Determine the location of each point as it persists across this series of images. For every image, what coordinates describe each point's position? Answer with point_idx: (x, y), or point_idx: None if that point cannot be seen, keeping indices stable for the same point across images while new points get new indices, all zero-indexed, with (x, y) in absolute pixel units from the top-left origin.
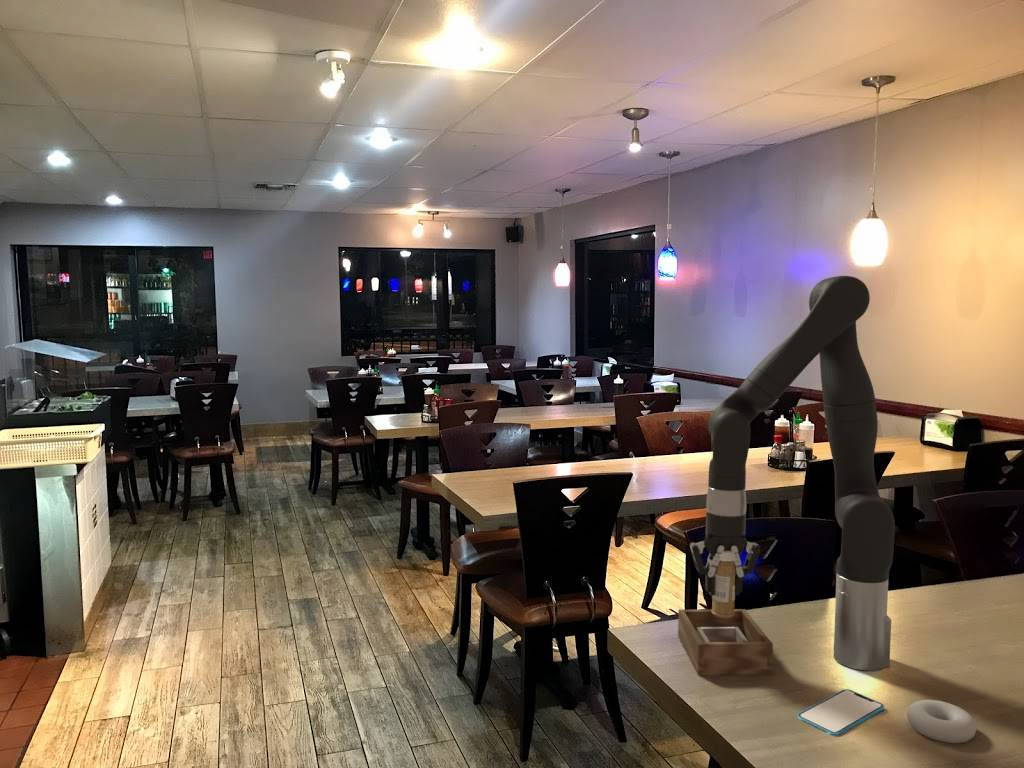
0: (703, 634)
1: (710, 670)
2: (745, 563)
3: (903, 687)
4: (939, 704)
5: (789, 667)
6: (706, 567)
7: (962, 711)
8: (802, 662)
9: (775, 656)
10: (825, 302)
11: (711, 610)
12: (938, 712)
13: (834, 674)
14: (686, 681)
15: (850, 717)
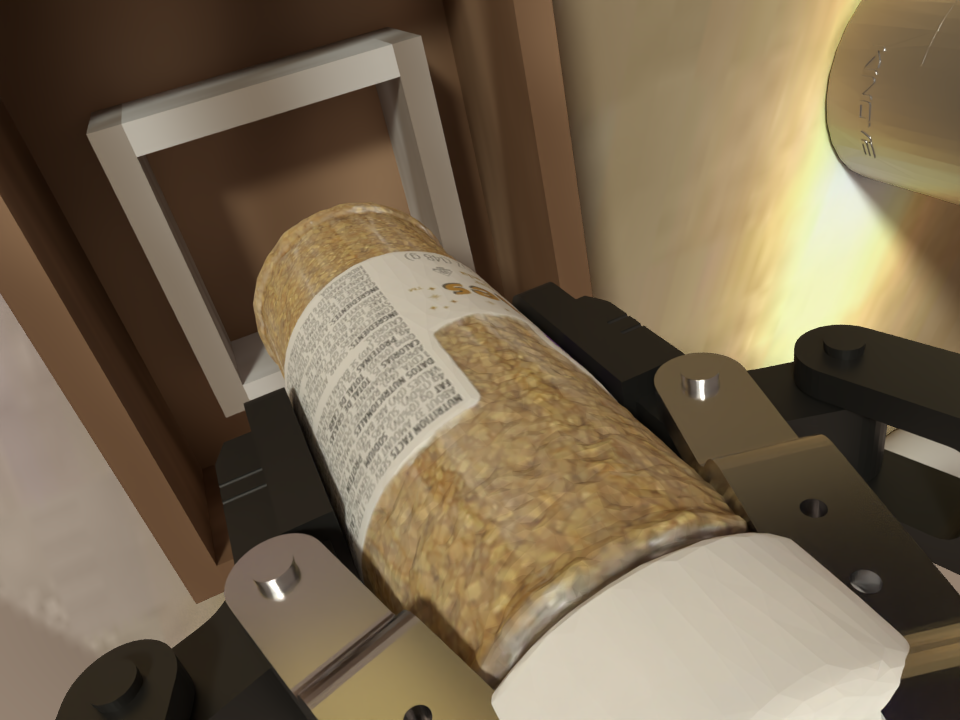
0: (172, 265)
1: None
2: (883, 416)
3: (934, 269)
4: (952, 473)
5: (616, 239)
6: (269, 671)
7: None
8: (683, 163)
9: (577, 127)
10: None
11: (256, 312)
12: None
13: (768, 245)
14: (136, 563)
15: None
